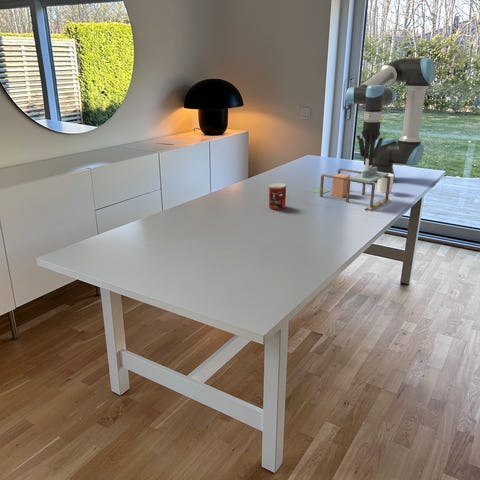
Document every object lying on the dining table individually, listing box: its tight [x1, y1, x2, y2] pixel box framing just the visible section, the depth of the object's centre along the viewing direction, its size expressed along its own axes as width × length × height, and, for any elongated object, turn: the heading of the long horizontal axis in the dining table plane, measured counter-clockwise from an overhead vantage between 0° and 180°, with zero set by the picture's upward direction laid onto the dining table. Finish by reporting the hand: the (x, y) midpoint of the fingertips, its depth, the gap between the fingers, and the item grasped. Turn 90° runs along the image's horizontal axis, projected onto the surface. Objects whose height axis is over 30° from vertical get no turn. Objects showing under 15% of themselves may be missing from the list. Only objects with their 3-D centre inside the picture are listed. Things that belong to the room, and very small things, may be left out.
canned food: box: [268, 182, 287, 211], centre depth 220 cm, size 8×8×11 cm
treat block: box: [331, 173, 351, 199], centre depth 233 cm, size 6×6×10 cm
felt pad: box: [308, 187, 332, 195], centre depth 243 cm, size 8×8×1 cm
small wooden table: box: [319, 168, 391, 212], centre depth 232 cm, size 20×38×13 cm, turn 49°
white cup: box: [376, 173, 395, 194], centre depth 240 cm, size 8×8×10 cm
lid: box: [350, 167, 389, 183], centre depth 221 cm, size 19×10×4 cm, turn 139°
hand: (367, 171), depth 222 cm, fingers closed
